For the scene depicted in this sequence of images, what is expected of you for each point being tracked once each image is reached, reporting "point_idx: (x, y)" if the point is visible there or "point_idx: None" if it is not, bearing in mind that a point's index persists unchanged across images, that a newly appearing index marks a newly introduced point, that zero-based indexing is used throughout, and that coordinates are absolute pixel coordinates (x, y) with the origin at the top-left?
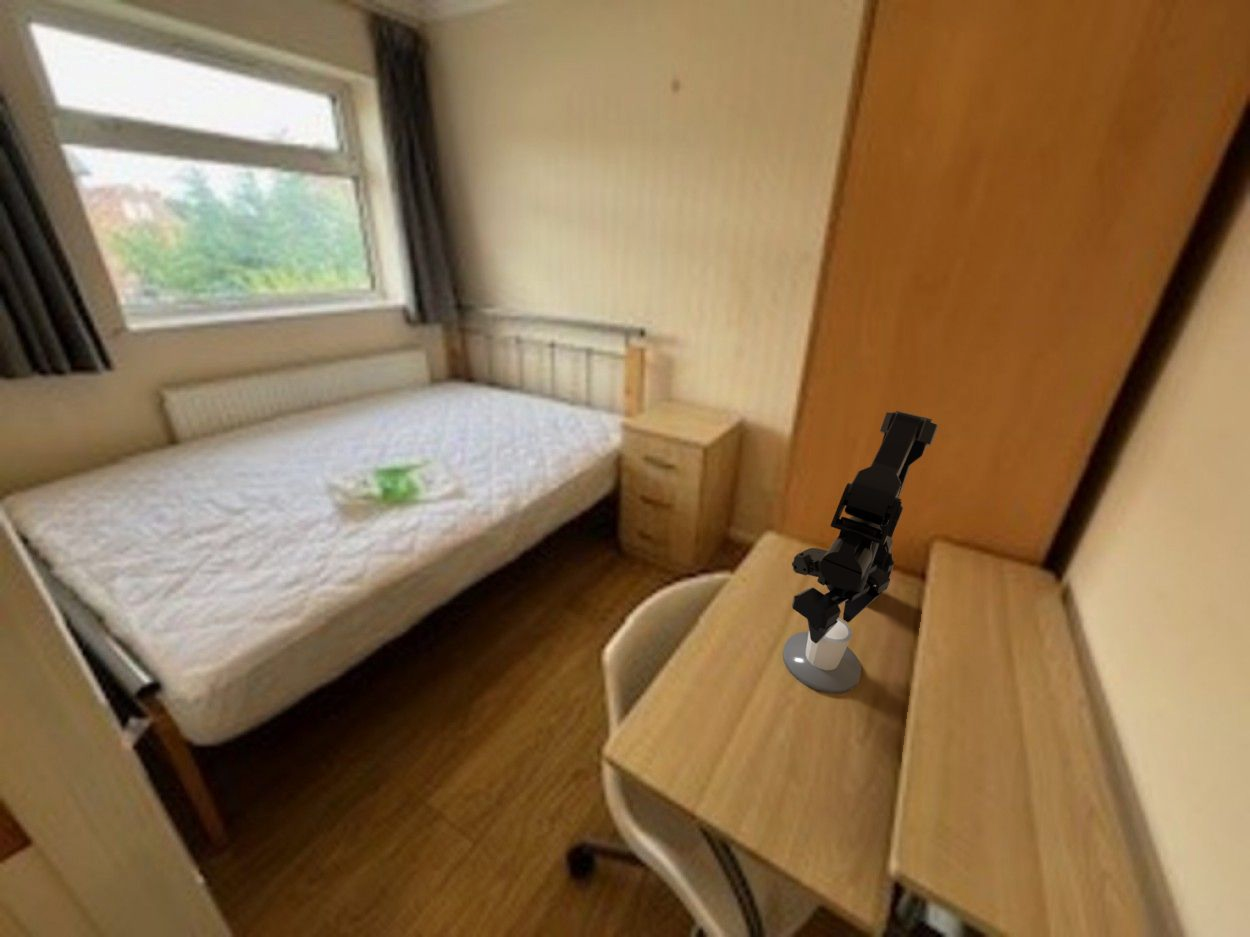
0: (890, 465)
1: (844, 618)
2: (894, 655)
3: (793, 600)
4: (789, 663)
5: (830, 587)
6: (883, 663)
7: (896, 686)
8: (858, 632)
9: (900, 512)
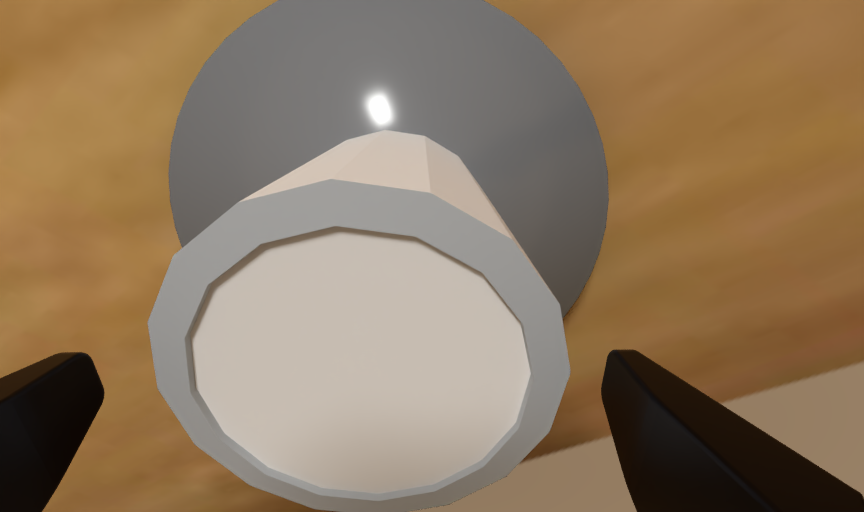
0: None
1: (615, 369)
2: (744, 366)
3: None
4: (174, 147)
5: None
6: None
7: (562, 442)
8: (799, 190)
9: None
